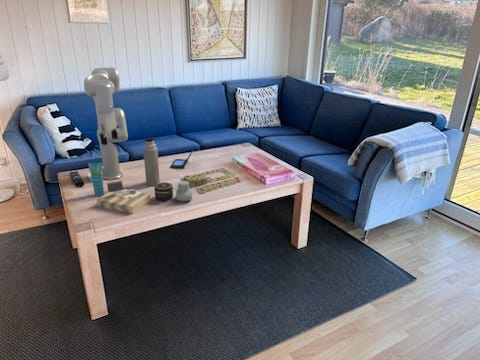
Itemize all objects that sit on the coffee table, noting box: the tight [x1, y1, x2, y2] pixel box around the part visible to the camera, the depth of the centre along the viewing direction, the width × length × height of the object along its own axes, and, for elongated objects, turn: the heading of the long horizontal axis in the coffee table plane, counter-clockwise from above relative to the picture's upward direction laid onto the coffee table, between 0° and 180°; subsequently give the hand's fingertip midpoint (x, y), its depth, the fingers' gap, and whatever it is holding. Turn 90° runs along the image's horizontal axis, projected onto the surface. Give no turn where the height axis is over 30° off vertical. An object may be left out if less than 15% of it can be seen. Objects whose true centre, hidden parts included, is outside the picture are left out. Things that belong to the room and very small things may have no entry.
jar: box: [153, 182, 174, 202], centre depth 205 cm, size 10×10×8 cm
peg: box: [106, 180, 135, 196], centre depth 199 cm, size 13×2×7 cm, turn 120°
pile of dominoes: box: [180, 167, 243, 195], centre depth 230 cm, size 35×27×6 cm
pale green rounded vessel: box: [175, 180, 193, 202], centre depth 203 cm, size 11×8×10 cm
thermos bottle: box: [143, 137, 161, 187], centre depth 219 cm, size 8×8×28 cm
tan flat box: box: [96, 188, 151, 214], centre depth 199 cm, size 22×17×4 cm
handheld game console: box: [170, 149, 194, 170], centre depth 253 cm, size 16×13×9 cm
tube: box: [87, 162, 105, 197], centre depth 205 cm, size 7×5×19 cm, turn 103°
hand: (109, 141), depth 191 cm, fingers open, 9 cm apart
